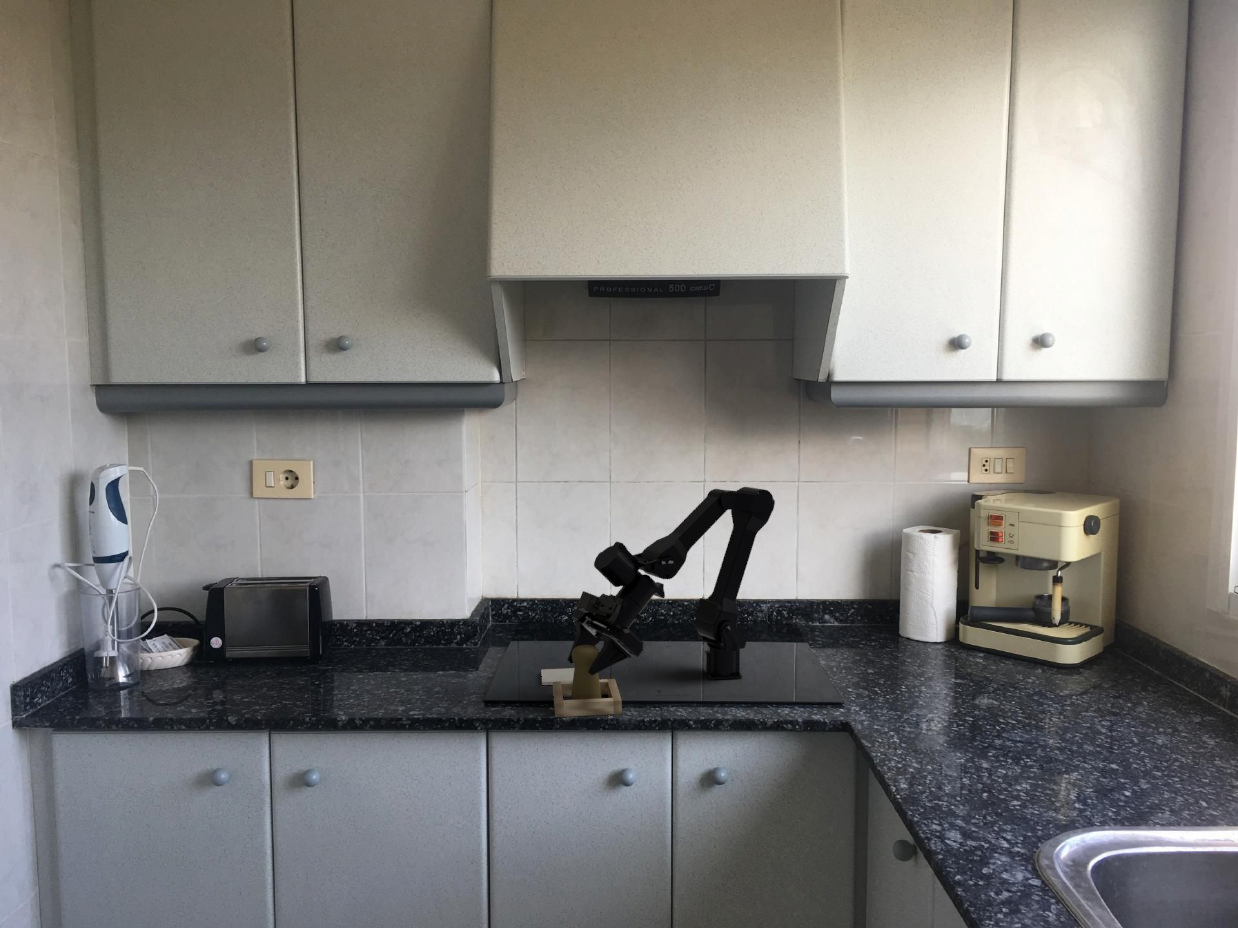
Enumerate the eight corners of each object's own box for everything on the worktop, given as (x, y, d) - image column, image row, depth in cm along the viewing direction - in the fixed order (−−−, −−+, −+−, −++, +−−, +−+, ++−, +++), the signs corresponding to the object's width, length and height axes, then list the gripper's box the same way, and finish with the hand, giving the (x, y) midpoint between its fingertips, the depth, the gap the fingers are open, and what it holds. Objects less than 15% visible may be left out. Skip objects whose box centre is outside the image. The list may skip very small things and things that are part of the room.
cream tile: (579, 671, 187) (579, 667, 187) (582, 684, 179) (582, 680, 179) (541, 673, 186) (541, 669, 186) (542, 686, 178) (542, 682, 178)
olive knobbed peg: (601, 709, 165) (601, 651, 164) (569, 709, 165) (568, 651, 164) (603, 698, 171) (602, 641, 170) (571, 698, 171) (570, 641, 170)
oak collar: (614, 691, 175) (614, 678, 175) (621, 713, 163) (621, 700, 163) (553, 694, 174) (552, 681, 173) (555, 716, 162) (555, 703, 162)
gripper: (580, 567, 176) (529, 630, 172) (628, 585, 160) (574, 655, 156) (615, 601, 181) (567, 664, 176) (666, 622, 165) (614, 691, 160)
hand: (579, 667), depth 167 cm, fingers open, 8 cm apart
